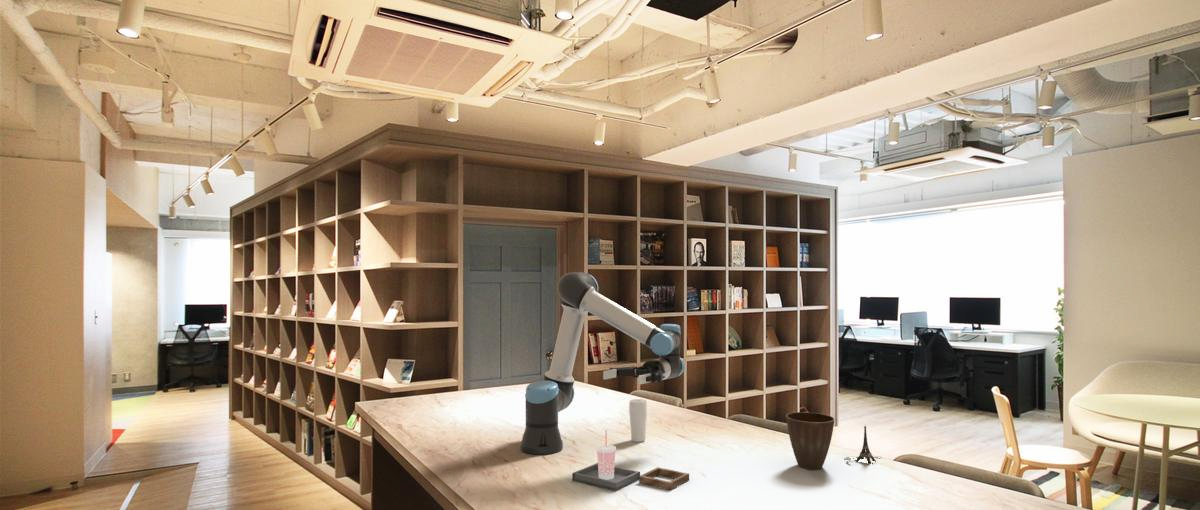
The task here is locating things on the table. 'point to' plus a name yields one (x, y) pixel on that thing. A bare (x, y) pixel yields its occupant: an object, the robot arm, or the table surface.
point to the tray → (592, 478)
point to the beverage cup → (606, 460)
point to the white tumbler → (638, 419)
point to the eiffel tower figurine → (863, 453)
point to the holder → (650, 480)
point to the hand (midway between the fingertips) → (621, 377)
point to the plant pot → (810, 438)
